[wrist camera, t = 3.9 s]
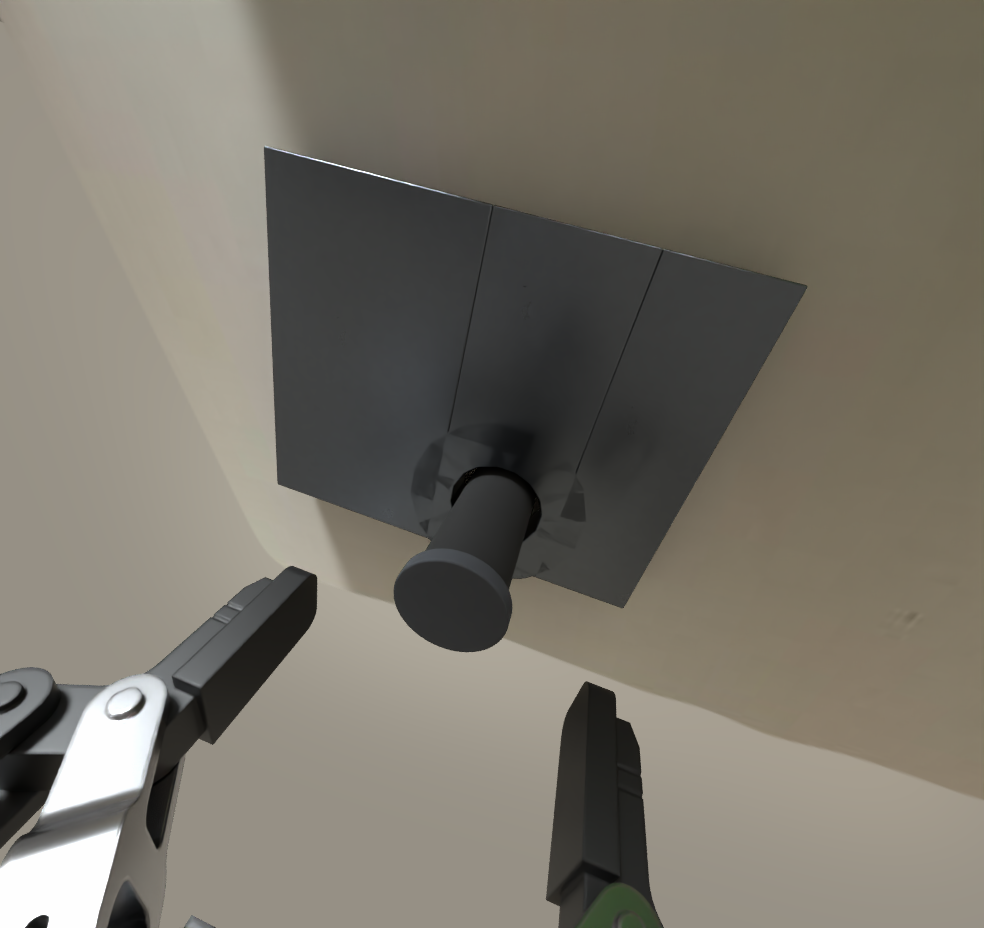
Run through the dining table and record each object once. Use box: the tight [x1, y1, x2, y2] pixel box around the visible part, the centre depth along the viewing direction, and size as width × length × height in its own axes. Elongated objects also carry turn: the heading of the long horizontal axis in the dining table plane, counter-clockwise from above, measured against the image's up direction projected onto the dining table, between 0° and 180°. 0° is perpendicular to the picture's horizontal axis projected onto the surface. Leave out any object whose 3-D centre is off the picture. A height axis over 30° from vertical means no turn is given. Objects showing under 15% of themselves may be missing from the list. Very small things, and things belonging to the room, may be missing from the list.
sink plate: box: [264, 146, 807, 608], centre depth 17 cm, size 18×15×2 cm
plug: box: [394, 467, 536, 652], centre depth 16 cm, size 4×4×8 cm
